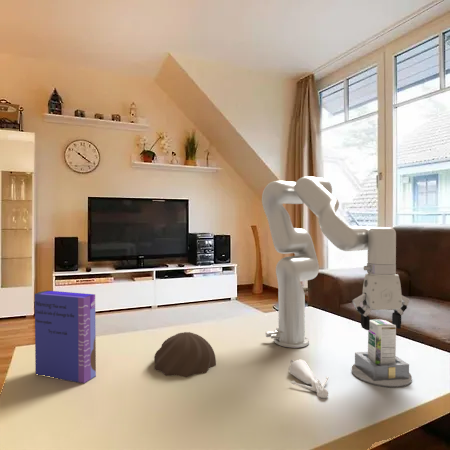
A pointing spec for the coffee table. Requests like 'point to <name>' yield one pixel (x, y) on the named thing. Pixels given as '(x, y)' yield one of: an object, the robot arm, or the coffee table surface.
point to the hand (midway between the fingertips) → (381, 328)
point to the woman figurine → (307, 377)
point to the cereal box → (65, 335)
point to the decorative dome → (184, 355)
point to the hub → (381, 371)
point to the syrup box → (382, 342)
